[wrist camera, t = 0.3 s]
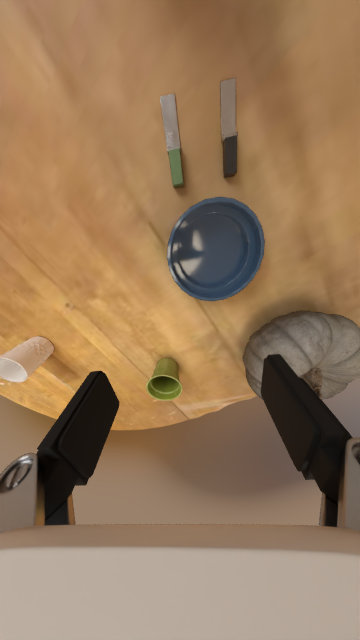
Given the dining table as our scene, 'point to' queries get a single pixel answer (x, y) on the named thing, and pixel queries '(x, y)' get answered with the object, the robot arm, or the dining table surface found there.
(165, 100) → the green knife
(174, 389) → the plant pot
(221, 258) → the bowl
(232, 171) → the black knife
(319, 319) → the gourd
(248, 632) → the robot arm
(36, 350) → the white cup
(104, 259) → the dining table surface
